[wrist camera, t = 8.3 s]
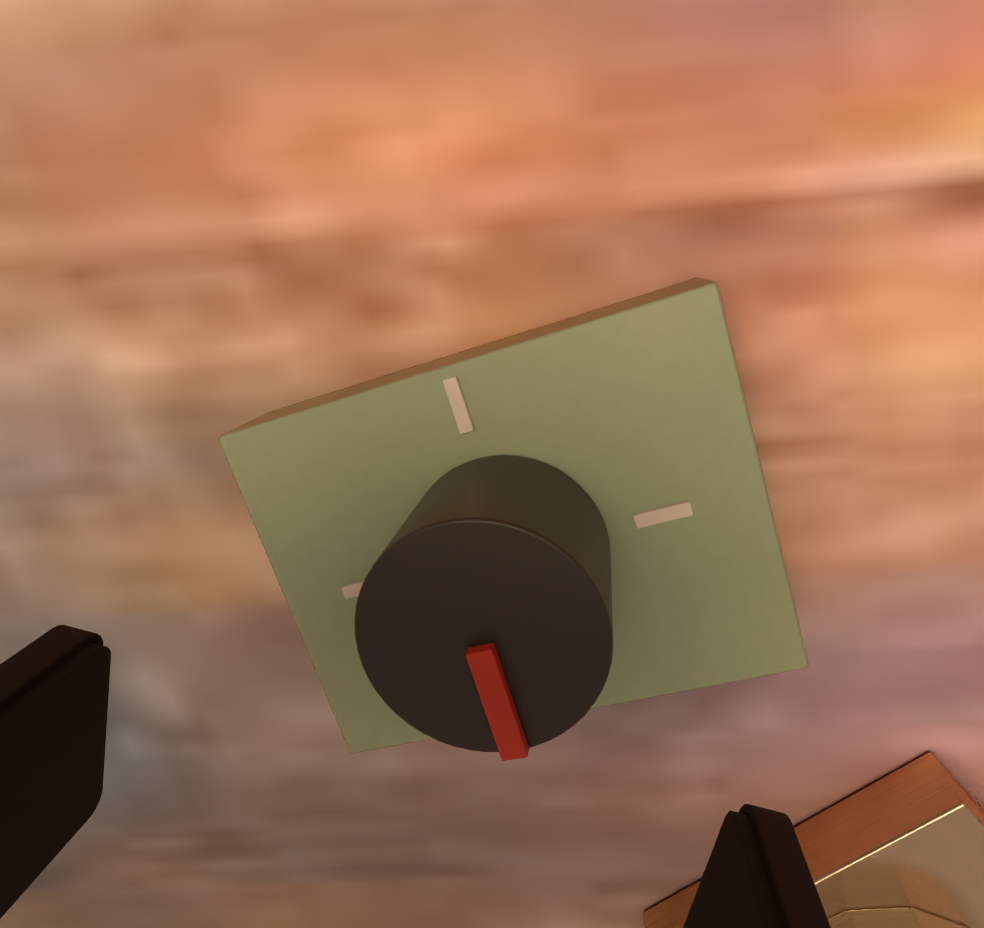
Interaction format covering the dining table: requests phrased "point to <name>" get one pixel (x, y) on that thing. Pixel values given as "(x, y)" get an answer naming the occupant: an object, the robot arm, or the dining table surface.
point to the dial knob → (492, 608)
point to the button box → (888, 856)
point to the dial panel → (567, 447)
